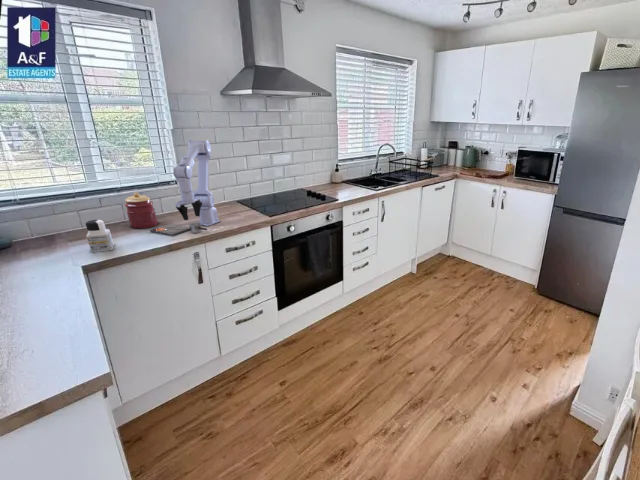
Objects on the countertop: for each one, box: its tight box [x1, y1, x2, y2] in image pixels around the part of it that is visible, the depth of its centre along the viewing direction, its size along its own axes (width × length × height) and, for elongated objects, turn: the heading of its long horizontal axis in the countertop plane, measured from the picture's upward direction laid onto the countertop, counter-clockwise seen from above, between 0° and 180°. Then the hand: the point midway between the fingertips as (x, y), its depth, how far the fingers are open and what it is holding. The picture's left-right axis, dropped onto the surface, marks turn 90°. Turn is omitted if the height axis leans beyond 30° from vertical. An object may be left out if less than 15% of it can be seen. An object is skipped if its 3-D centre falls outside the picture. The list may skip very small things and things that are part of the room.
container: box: [85, 219, 115, 253], centre depth 165 cm, size 8×8×13 cm
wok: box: [188, 222, 208, 234], centre depth 192 cm, size 6×10×4 cm, turn 70°
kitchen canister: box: [124, 191, 159, 229], centre depth 196 cm, size 13×13×18 cm
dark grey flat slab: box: [150, 223, 191, 237], centre depth 193 cm, size 12×15×1 cm
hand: (192, 217), depth 189 cm, fingers open, 7 cm apart
